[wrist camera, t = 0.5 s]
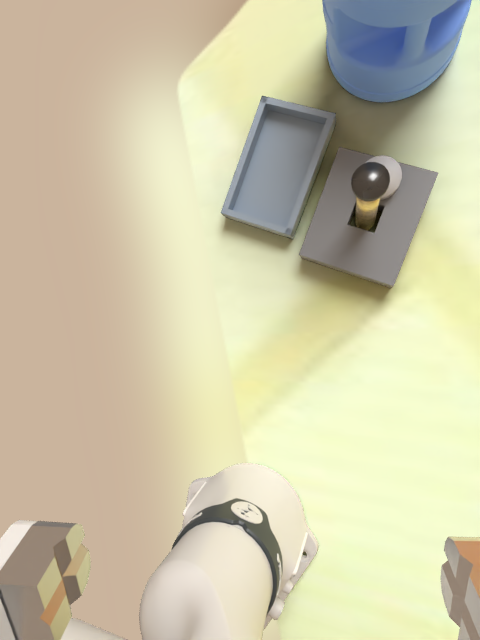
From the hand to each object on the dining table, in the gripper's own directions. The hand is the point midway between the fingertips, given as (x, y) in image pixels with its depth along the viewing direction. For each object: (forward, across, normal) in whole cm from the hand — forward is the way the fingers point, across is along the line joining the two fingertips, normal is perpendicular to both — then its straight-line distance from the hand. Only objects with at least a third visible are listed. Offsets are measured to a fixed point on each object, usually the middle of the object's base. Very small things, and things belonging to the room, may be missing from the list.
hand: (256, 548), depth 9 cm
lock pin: (+49, +11, 0) cm, 50 cm away
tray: (+53, 0, +7) cm, 54 cm away
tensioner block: (+49, +11, 0) cm, 50 cm away
